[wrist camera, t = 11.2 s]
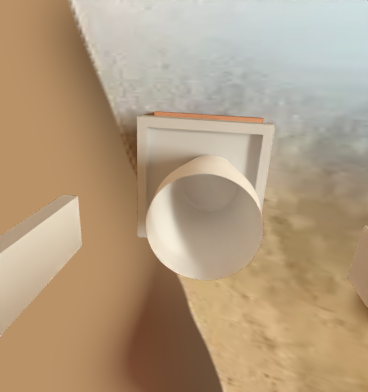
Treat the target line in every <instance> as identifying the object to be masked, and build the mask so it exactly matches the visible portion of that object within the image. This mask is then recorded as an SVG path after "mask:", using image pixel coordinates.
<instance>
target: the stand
mask: <svg viewBox="0 0 368 392" xmlns="http://www.w3.org/2000/svg"><path fill="white" fill-rule="evenodd" d="M274 130H275V125H274V124H272V123H263V118H255V117H239V116H223V115H207V114H191V113H175V112H159V111H156V112H154V116H152V115H140V116H137V234H138V235H137V237H145V238H147V233H146V217H147V213H148V210H149V207H150V205H151V203H152V201H153V199H154V196H155V193H156V191H157V189H158V187H159V186H160V184H161V183H162V182H163V180H164V179H165V178H166V177H167V176H168V175H169V174H171V173H172V172H173V171H175V170H176V169H178V168H179V167H181V166H183V165H184V164H186V163H188V162H190V161H191V160H193V159H195V158H197V157H199V156H203V155H216V156H220V157H222V158H224V159H226V160H227V161H229V162H230V163H231V164H232V165H233V166H234V167H235V168H236V169H237V170H238V171H239V172H240V173H241V174H242V175H243V176H244V177H245V178H246V179H247V180H248V181H249V182H250V183H251V185H252V186H253V188H254V190H255V192H256V193H257V196H258V198H259V202H260V207H261V212H262V206H263V200H264V193H265V187H266V180H267V174H268V168H269V161H270V155H271V149H272V142H273V136H274Z"/></svg>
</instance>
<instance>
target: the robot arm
mask: <svg viewBox="0 0 368 392" xmlns="http://www.w3.org/2000/svg"><path fill="white" fill-rule="evenodd" d="M81 246H82V240H81V227H80V215H79V202H78V196H73V195H64V194H63V195H61V196H60V197H58V198H57V199H55V200H54V201H52V202H51V203H49V204H48V205H46V206H45V207H43V208H42V209H40V210H39V211H37V212H36V213H34V214H32V215H31V216H29V217H28V218H26V219H25V220H24V221H22V222H20V223H19V224H17V225H16V226H14V227H13V228H11V229H10V230H8V231H7V232H5V233H4V234H2V235H1V236H0V336H1V335H2V334H3V333H4V332H5V331H6V330H7V328H8V327H9V326H10V325H11V324H12V323H13V322H14V321H15V320H16V318H17V317H18V316H19V315H20V314H21V313H22V312H23V311H24V310H25V308H26V307H27V306H28V305H29V304H30V303H31V302H32V301H33V300H34V298H35V297H36V296H37V295H38V294H39V293H40V292H41V291H42V290H43V288H44V287H45V286H46V285H47V284H48V283H49V282H50V281H51V280H52V278H53V277H54V276H55V275H56V274H57V273H58V272H59V271H60V269H61V268H62V267H63V266H64V265H65V264H66V263H67V262H68V261H69V260H70V258H71V257H72V256H73V255H74V254H75V253H76V252H77V251H78V250H79V248H80V247H81ZM347 278H348V279H349V281H350V282H351V284H352V285H353V287H354V289H355V290H356V292H357V293H358V295H359V296H360V298H361V299H362V301H363V302H364V304H365V305H366V307H367V308H368V226H364V227H363V230H362V233H361V236H360V239H359V243H358V246H357V249H356V252H355V255H354V258H353V262H352V265H351V268H350V271H349V274H348V277H347Z"/></svg>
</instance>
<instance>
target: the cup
mask: <svg viewBox="0 0 368 392" xmlns="http://www.w3.org/2000/svg"><path fill="white" fill-rule="evenodd" d="M263 230H264V228H263V219H262V214H261V207H260V202H259V198H258V196H257V193H256V192H255V190H254V188H253V186H252V185H251V183H250V182H249V181H248V180H247V179H246V178H245V177H244V176H243V175H242V174H241V173H240V172H239V171H238V170H237V169H236V168H235V167H234V166H233V165H232V164H231V163H230V162H229V161H227V160H226V159H224V158H222V157H220V156H216V155H203V156H199V157H197V158H195V159H193V160H191V161H190V162H188V163H186V164H184V165H183V166H181V167H179V168H178V169H176V170H175V171H173V172H172V173H171V174H169V175H168V176H167V177H166V178H165V179H164V180H163V182H162V183H161V184H160V186H159V187H158V189H157V191H156V193H155V196H154V199H153V201H152V203H151V205H150V207H149V210H148V213H147V217H146V233H147V238H148V241H149V243H150V246H151V248H152V250H153V251H154V253H155V254H156V256H157V257H158V258H159V260H160V261H161V262H162V263H163V264H164V265H166V266H167V267H168V268H170V269H171V270H172V271H174V272H176V273H178V274H180V275H182V276H185V277H188V278H192V279H197V280H217V279H222V278H225V277H228V276H231V275H233V274H235V273H237V272H239V271H240V270H242V269H243V268H244V267H246V266H247V265H248V264H249V263H250V262H251V261H252V260H253V258H254V257H255V255H256V254H257V252H258V250H259V248H260V246H261V243H262V239H263Z"/></svg>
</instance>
